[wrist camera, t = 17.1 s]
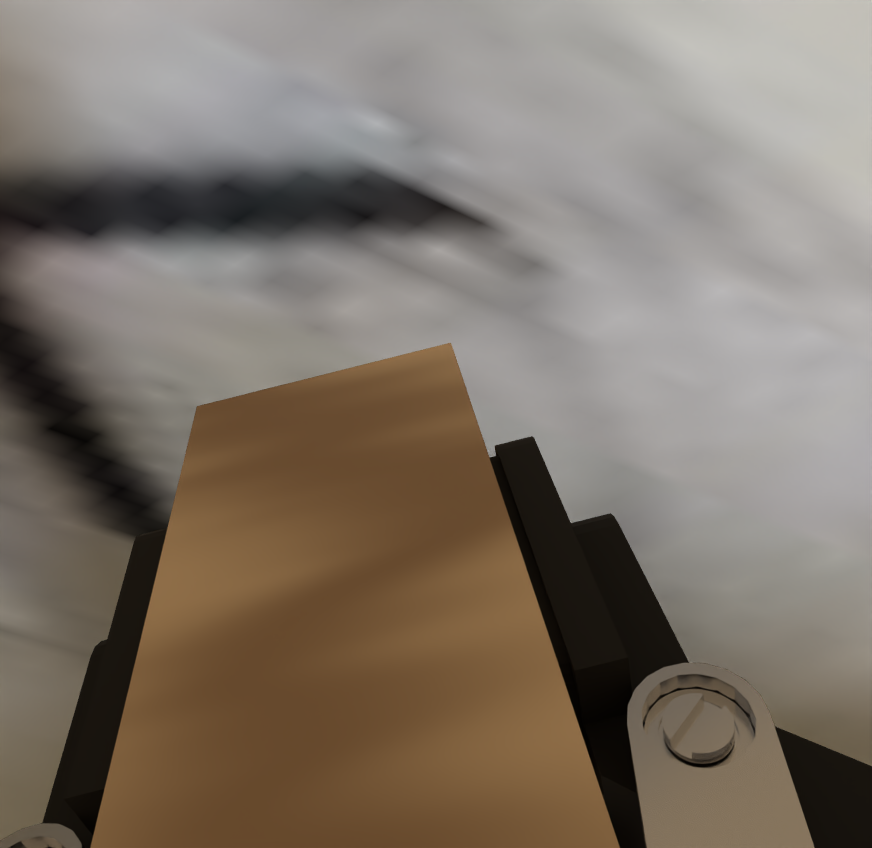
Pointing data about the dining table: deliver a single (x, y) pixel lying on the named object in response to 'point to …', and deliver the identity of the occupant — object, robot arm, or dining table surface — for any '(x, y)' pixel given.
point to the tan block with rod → (347, 638)
